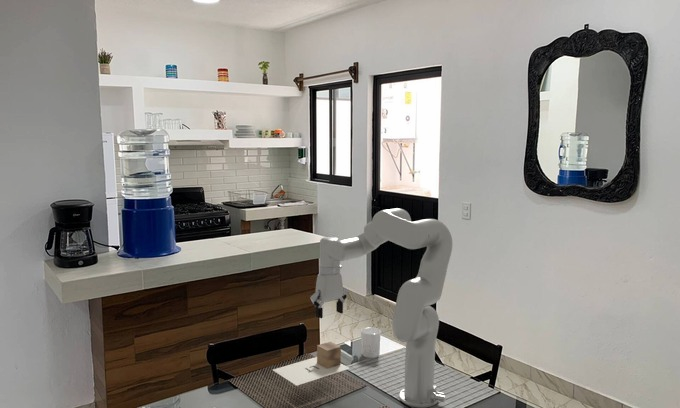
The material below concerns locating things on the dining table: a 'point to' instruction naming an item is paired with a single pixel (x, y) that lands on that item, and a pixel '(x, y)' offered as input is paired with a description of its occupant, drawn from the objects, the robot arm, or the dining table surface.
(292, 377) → the board
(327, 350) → the walnut block
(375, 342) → the white cup
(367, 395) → the dining table surface
